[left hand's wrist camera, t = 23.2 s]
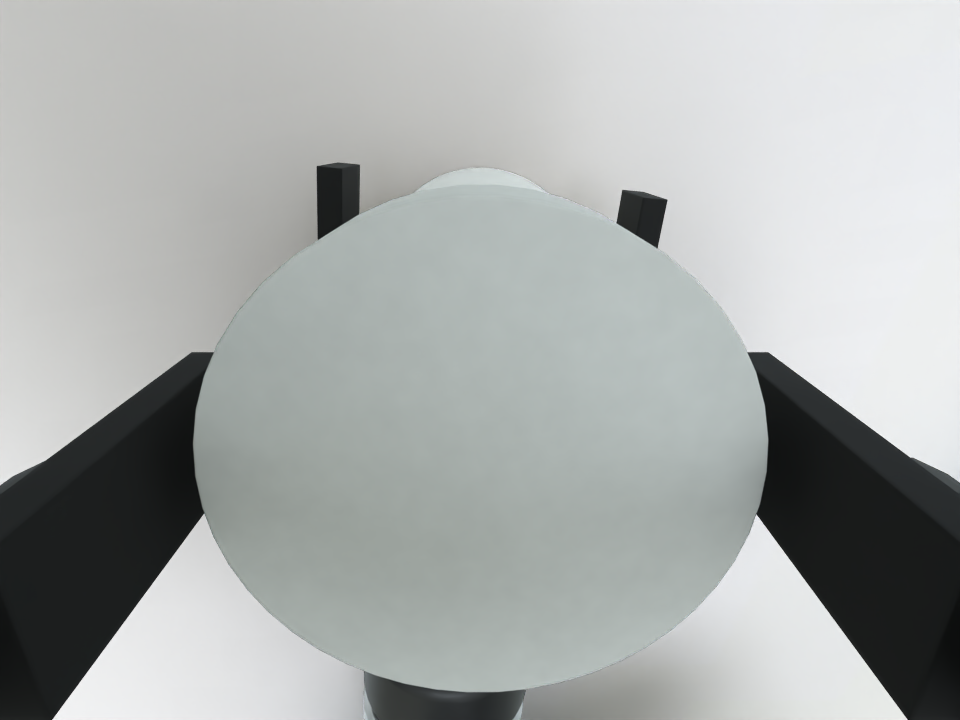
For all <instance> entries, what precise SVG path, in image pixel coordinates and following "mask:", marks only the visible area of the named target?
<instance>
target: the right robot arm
mask: <svg viewBox="0 0 960 720" xmlns="http://www.w3.org/2000/svg"><path fill="white" fill-rule="evenodd" d="M359 187H360V165H357V164H347V163H333V164H327V165H321V166H317V216H318V240H319V239H321V238H322V237H324V236H325V235H327V234H329V233H330V232H332V231H333V230H335V229H337V228H338V227H340V226H341V225H343V224H344V223H346V222H348V221H349V220H351V219H352V218H354V217H356V216H357V215H359ZM666 204H667V200H666V199H663V198H660V197H657V196H654V195H651V194H648V193H645V192H638V191H628V190H622V195H621V201H620V207H619V212H618V218H617V224H618V225H620V226H622V227H623V228H625V229H627V230H628V231H630V232H631V233H633V234H635V235H636V236H638V237H639V238H641V239H643V240H644V241H646V242H648V243H649V244H651V245H652V246H654V247H656V248H658V243H659V238H660V233H661V228H662V224H663V219H664V214H665V209H666ZM364 683H365V688H364V706H363V720H521V716H522V710H523V698H524V695H525V690H526V689H523V690H513V691H503V692H459V691H448V690H437V689H431V688H425V687H420V686H415V685H409V684H404V683H401V682H397V681H394V680H390V679H387V678H383V677H380V676H376V675H373V674H371V673H368V672H366V671H364Z"/></svg>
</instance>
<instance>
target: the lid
mask: <svg viewBox="0 0 960 720" xmlns="http://www.w3.org/2000/svg"><path fill="white" fill-rule="evenodd" d="M193 451H194V465H195V477H196V482H197V486H198V491H199V495H200V499H201V504H202V508H203V511H204V513H205V516H206V518H207V521H208V524H209V526H210V529H211V531H212V534H213V537H214V539H215V540H216V542H217V544H218V546H219V548H220V549H221V551H222V553H223V555H224V557H225V559H226V560H227V562H228V564H229V565H230V567H231V568H232V570H233V571H234V572H235V574H236V575H237V576H238V578H239V579H240V580H241V582H242V583H243V585H244V586H245V587H246V589H247V590H248V591H249V592H250V593H251V594H252V595H253V596H254V597H255V598H256V599H257V600H258V602H259V603H260V604H261V605H262V606H263V607H264V608H265V609H266V610H267V611H268V612H269V613H270V614H271V615H273V616H274V617H275V618H276V619H277V620H279V621H280V622H281V623H282V624H283V625H285V626H286V627H287V628H288V629H289V630H290V631H292V632H293V633H295V634H296V635H298V636H299V637H301V638H302V639H304V640H305V641H307V642H308V643H310V644H311V645H313V646H314V647H316V648H317V649H319V650H321V651H323V652H324V653H326V654H328V655H330V656H332V657H334V658H336V659H338V660H340V661H342V662H344V663H346V664H348V665H351V666H353V667H356V668H358V669H361V670H363V671H366V672H368V673H371V674H373V675H376V676H380V677H383V678H387V679H390V680H394V681H397V682H401V683H404V684H409V685H415V686H420V687H425V688H431V689H437V690H448V691H459V692H503V691H513V690H523V689H531V688H536V687H541V686H546V685H551V684H556V683H561V682H564V681H568V680H571V679H574V678H578V677H581V676H584V675H588V674H591V673H593V672H596V671H598V670H600V669H603V668H605V667H608V666H610V665H613V664H615V663H617V662H620V661H621V660H623V659H625V658H627V657H629V656H631V655H633V654H635V653H636V652H638V651H640V650H642V649H644V648H646V647H647V646H649V645H650V644H652V643H653V642H655V641H656V640H658V639H659V638H660V637H662V636H663V635H665V634H666V633H668V632H669V631H671V630H672V629H673V628H674V627H676V626H677V625H678V624H679V623H680V622H681V621H683V620H684V619H685V618H686V617H687V616H688V615H690V614H691V613H692V612H693V611H694V610H695V609H696V608H697V607H698V606H699V605H700V604H701V603H702V602H703V601H704V600H705V598H706V597H707V596H708V595H709V594H710V593H711V592H712V591H713V590H714V589H715V588H716V586H717V585H718V584H719V582H720V581H721V579H722V578H723V577H724V575H725V574H726V572H727V571H728V570H729V568H730V567H731V565H732V564H733V563H734V561H735V559H736V557H737V556H738V554H739V552H740V550H741V548H742V546H743V544H744V542H745V540H746V539H747V537H748V535H749V533H750V530H751V527H752V524H753V522H754V519H755V516H756V513H757V511H758V508H759V505H760V501H761V497H762V492H763V487H764V482H765V477H766V472H767V454H768V432H767V422H766V412H765V404H764V400H763V397H762V393H761V389H760V385H759V382H758V378H757V374H756V371H755V369H754V366H753V364H752V362H751V360H750V357H749V355H748V353H747V351H746V348H745V346H744V344H743V342H742V339H741V338H740V336H739V335H738V333H737V332H736V330H735V328H734V327H733V325H732V324H731V322H730V321H729V319H728V318H727V316H726V315H725V313H724V311H723V310H722V308H721V307H720V306H719V305H718V304H717V303H716V301H715V300H714V299H713V298H712V297H711V296H710V295H709V294H708V292H707V291H706V290H705V289H704V288H703V287H702V286H701V285H700V283H699V282H698V281H697V280H696V279H695V278H694V277H693V276H691V275H690V274H689V273H688V272H687V271H685V270H684V269H683V268H682V267H681V266H679V265H678V264H677V263H676V262H675V261H673V260H672V259H671V258H670V257H669V256H667V255H666V254H665V253H664V252H662V251H660V250H659V249H657V248H656V247H654V246H652V245H651V244H649V243H648V242H646V241H644V240H643V239H641V238H639V237H638V236H636V235H635V234H633V233H631V232H630V231H628V230H627V229H625V228H623V227H622V226H620V225H618V224H617V223H615V222H613V221H612V220H610V219H608V218H607V217H605V216H604V215H602V214H600V213H599V212H597V211H594V210H592V209H590V208H587V207H585V206H583V205H580V204H578V203H576V202H573V201H571V200H569V199H566V198H563V197H559V196H555V195H552V194H548V193H544V192H541V191H537V190H533V189H527V188H519V187H511V186H504V185H456V186H449V187H442V188H435V189H429V190H423V191H420V192H417V193H413V194H410V195H406V196H403V197H399V198H396V199H392V200H390V201H388V202H385V203H383V204H381V205H379V206H376V207H374V208H372V209H370V210H367V211H365V212H363V213H361V214H359V215H357V216H356V217H354V218H352V219H351V220H349V221H348V222H346V223H344V224H343V225H341V226H340V227H338V228H337V229H335V230H333V231H332V232H330V233H329V234H327V235H325V236H324V237H322V238H321V239H319V240H317V241H316V242H314V243H313V244H311V245H310V246H308V247H306V248H305V249H303V250H302V251H300V252H299V253H297V254H295V255H294V256H292V257H291V258H290V259H289V260H288V261H287V262H286V263H284V264H283V265H282V266H281V267H280V268H279V269H277V270H276V271H275V272H274V273H273V274H272V275H270V276H269V277H268V278H267V279H266V280H265V281H263V282H262V284H261V285H260V286H259V287H258V288H257V289H256V291H255V292H254V293H253V294H252V295H251V296H250V298H249V299H248V300H247V301H246V302H245V303H244V305H243V306H242V307H241V308H240V309H239V310H238V311H237V313H236V315H235V316H234V318H233V320H232V321H231V323H230V324H229V326H228V328H227V329H226V331H225V332H224V334H223V336H222V337H221V339H220V340H219V342H218V344H217V346H216V349H215V351H214V354H213V356H212V358H211V361H210V363H209V365H208V368H207V370H206V373H205V375H204V378H203V382H202V386H201V390H200V395H199V399H198V403H197V407H196V413H195V425H194V438H193Z"/></svg>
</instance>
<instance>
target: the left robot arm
mask: <svg viewBox="0 0 960 720" xmlns="http://www.w3.org/2000/svg"><path fill="white" fill-rule="evenodd" d="M747 353H748V355H749V357H750V360H751V362H752V364H753V366H754V369H755V371H756V374H757V378H758V382H759V385H760V389H761V393H762V397H763V400H764V404H765V412H766V422H767V432H768V454H767V472H766V477H765V482H764V487H763V492H762V497H761V501H760V505H759V508H758V511H757V513H756V514H757V515H758V517H759V518H760V520H761V521H762V522H763V524H764V525H765V526H766V528H767V529H768V530H769V532H770V533H771V534H772V536H773V537H774V539H775V540H776V541H777V543H778V544H779V545H780V547H781V548H782V549H783V551H784V552H785V554H786V555H787V556H788V558H789V559H790V560H791V562H792V563H793V564H794V566H795V567H796V568H797V570H798V571H799V573H800V574H801V575H802V577H803V578H804V579H805V581H806V582H807V583H808V585H809V586H810V587H811V589H812V590H813V592H814V593H815V594H816V596H817V597H818V598H819V600H820V601H821V602H822V604H823V605H824V606H825V608H826V609H827V611H828V612H829V613H830V615H831V616H832V617H833V619H834V620H835V621H836V623H837V624H838V625H839V627H840V628H841V630H842V631H843V632H844V634H845V635H846V636H847V638H848V639H849V640H850V642H851V643H852V645H853V646H854V647H855V649H856V650H857V651H858V653H859V654H860V655H861V657H862V658H863V659H864V661H865V662H866V664H867V665H868V666H869V668H870V669H871V670H872V672H873V673H874V674H875V676H876V677H877V678H878V680H879V681H880V683H881V684H882V685H883V687H884V688H885V689H886V691H887V692H888V693H889V695H890V696H891V697H892V699H893V700H894V702H895V703H896V704H897V706H898V707H899V708H900V710H901V711H902V712H903V714H904V715H905V716H906V718H907V719H908V720H960V483H959V482H958V481H956V480H955V479H954V478H952V477H951V476H949V475H948V474H946V473H944V472H942V471H940V470H938V469H936V468H934V467H931V466H929V465H927V464H925V463H923V462H921V461H919V460H917V459H915V458H910V457H909V456H907V455H906V454H905V453H903V452H902V451H901V450H899V449H898V448H896V447H895V446H894V445H892V444H891V443H890V442H888V441H887V440H886V439H884V438H883V437H882V436H880V435H879V434H878V433H876V432H875V431H874V430H872V429H871V428H870V427H868V426H867V425H865V424H864V423H863V422H861V421H860V420H859V419H857V418H856V417H855V416H853V415H852V414H851V413H849V412H848V411H847V410H845V409H844V408H843V407H841V406H840V405H839V404H837V403H836V402H834V401H833V400H832V399H830V398H829V397H828V396H826V395H825V394H824V393H822V392H821V391H820V390H818V389H817V388H816V387H814V386H813V385H812V384H810V383H809V382H807V381H806V380H805V379H803V378H802V377H801V376H799V375H798V374H797V373H795V372H794V371H793V370H791V369H790V368H789V367H787V366H786V365H785V364H783V363H782V362H781V361H779V360H778V359H776V358H775V357H774V356H772V355H771V354H770V353H768V352H747ZM213 354H214V352H192V353H190V354H189V355H188V356H186V357H185V358H184V359H182V360H181V361H179V362H178V363H177V364H175V365H174V366H173V367H171V368H170V369H169V370H167V371H166V372H165V373H163V374H162V375H161V376H159V377H158V378H157V379H155V380H154V381H153V382H151V383H150V384H148V385H147V386H146V387H144V388H143V389H142V390H140V391H139V392H138V393H136V394H135V395H134V396H132V397H131V398H130V399H128V400H127V401H126V402H124V403H123V404H121V405H120V406H119V407H117V408H116V409H115V410H113V411H112V412H111V413H109V414H108V415H107V416H105V417H104V418H103V419H101V420H100V421H99V422H97V423H96V424H95V425H93V426H92V427H90V428H89V429H88V430H86V431H85V432H84V433H82V434H81V435H80V436H78V437H77V438H76V439H74V440H73V441H72V442H70V443H69V444H68V445H66V446H65V447H64V448H62V449H61V450H59V451H58V452H57V453H55V454H54V455H53V456H51V457H50V458H49V459H47V460H46V461H44V462H42V463H40V464H38V465H36V466H34V467H32V468H29V469H27V470H25V471H23V472H21V473H19V474H17V475H15V476H13V477H11V478H10V479H9V480H7V481H6V482H5V483H3V484H2V485H0V720H52V719H53V718H54V716H55V715H56V714H57V712H58V711H59V710H60V708H61V707H62V706H63V704H64V703H65V702H66V700H67V699H68V697H69V696H70V695H71V693H72V692H73V691H74V689H75V688H76V687H77V685H78V684H79V683H80V681H81V680H82V678H83V677H84V676H85V674H86V673H87V672H88V670H89V669H90V668H91V666H92V665H93V664H94V662H95V661H96V659H97V658H98V657H99V655H100V654H101V653H102V651H103V650H104V649H105V647H106V646H107V645H108V643H109V642H110V640H111V639H112V638H113V636H114V635H115V634H116V632H117V631H118V630H119V628H120V627H121V625H122V624H123V623H124V621H125V620H126V619H127V617H128V616H129V615H130V613H131V612H132V611H133V609H134V608H135V606H136V605H137V604H138V602H139V601H140V600H141V598H142V597H143V596H144V594H145V593H146V592H147V590H148V589H149V587H150V586H151V585H152V583H153V582H154V581H155V579H156V578H157V577H158V575H159V574H160V573H161V571H162V570H163V568H164V567H165V566H166V564H167V563H168V562H169V560H170V559H171V558H172V556H173V555H174V554H175V552H176V551H177V549H178V548H179V547H180V545H181V544H182V543H183V541H184V540H185V539H186V537H187V536H188V534H189V533H190V532H191V530H192V529H193V528H194V526H195V525H196V524H197V522H198V521H199V520H200V518H201V517H202V515H203V514H204V511H203V508H202V504H201V499H200V495H199V491H198V486H197V482H196V477H195V465H194V451H193V438H194V425H195V413H196V407H197V403H198V399H199V395H200V390H201V386H202V382H203V378H204V375H205V373H206V370H207V368H208V365H209V363H210V361H211V358H212V356H213Z"/></svg>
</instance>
